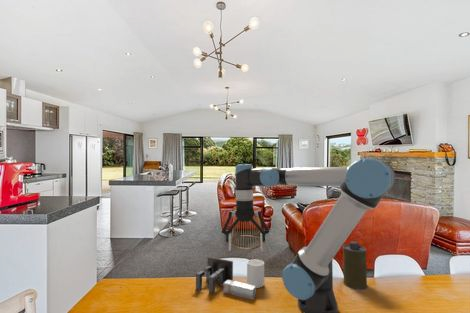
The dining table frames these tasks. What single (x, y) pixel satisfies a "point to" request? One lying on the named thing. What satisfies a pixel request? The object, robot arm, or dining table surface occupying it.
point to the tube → (239, 289)
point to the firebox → (215, 273)
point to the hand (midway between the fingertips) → (245, 249)
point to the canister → (354, 266)
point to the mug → (255, 273)
